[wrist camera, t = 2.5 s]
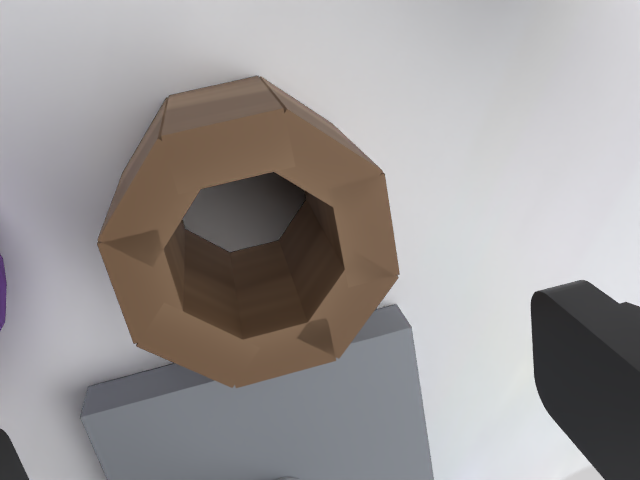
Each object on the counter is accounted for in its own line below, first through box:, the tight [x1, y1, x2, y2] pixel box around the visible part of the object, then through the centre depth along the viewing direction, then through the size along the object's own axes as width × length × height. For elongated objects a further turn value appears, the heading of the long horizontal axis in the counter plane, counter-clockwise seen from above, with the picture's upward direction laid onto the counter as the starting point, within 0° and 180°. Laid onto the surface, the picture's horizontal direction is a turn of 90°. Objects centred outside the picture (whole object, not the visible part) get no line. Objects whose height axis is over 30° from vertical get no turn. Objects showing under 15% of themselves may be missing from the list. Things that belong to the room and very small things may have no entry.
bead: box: [97, 76, 400, 388], centre depth 15 cm, size 6×6×5 cm
